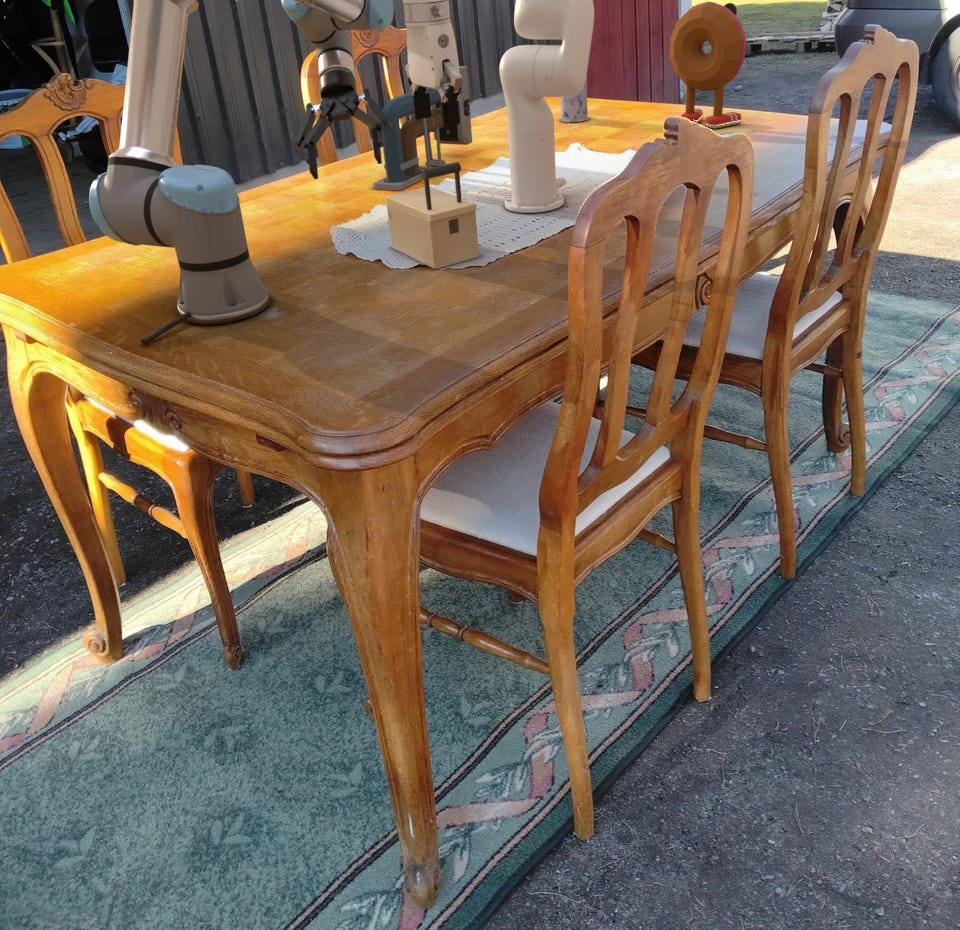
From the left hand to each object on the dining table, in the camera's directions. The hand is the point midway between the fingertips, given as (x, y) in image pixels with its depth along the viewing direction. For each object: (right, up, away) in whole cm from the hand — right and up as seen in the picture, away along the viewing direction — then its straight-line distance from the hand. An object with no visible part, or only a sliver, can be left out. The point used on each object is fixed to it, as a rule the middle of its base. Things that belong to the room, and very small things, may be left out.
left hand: (345, 167), depth 194 cm
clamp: (+13, +13, +45) cm, 49 cm away
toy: (+88, +32, +66) cm, 114 cm away
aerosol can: (+54, +40, +84) cm, 107 cm away
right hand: (+19, 0, -27) cm, 33 cm away
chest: (+18, -19, -10) cm, 28 cm away
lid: (+18, -12, -15) cm, 26 cm away
